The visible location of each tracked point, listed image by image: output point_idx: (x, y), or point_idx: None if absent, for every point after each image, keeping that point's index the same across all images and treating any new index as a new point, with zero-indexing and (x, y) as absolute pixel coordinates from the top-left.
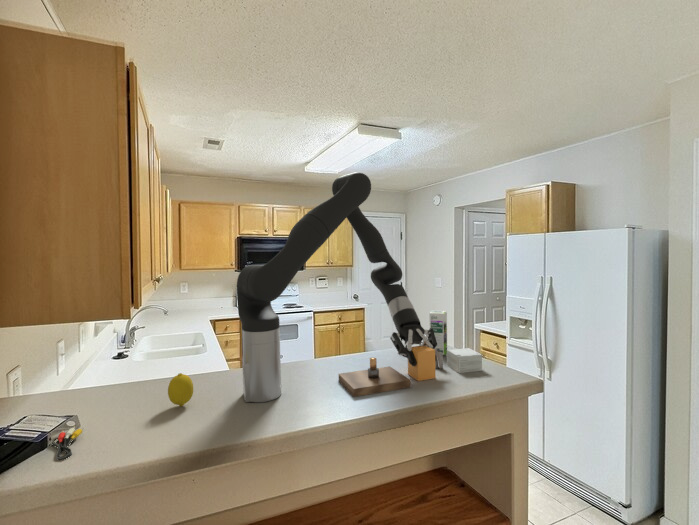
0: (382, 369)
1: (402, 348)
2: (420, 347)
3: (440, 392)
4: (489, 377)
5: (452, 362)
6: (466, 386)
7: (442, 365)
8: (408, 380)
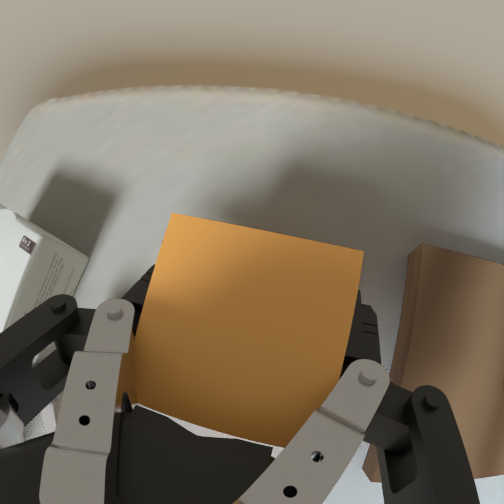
0: None
1: (437, 398)
2: (214, 365)
3: (333, 147)
4: (69, 162)
5: None
6: (199, 136)
7: None
8: (431, 247)
